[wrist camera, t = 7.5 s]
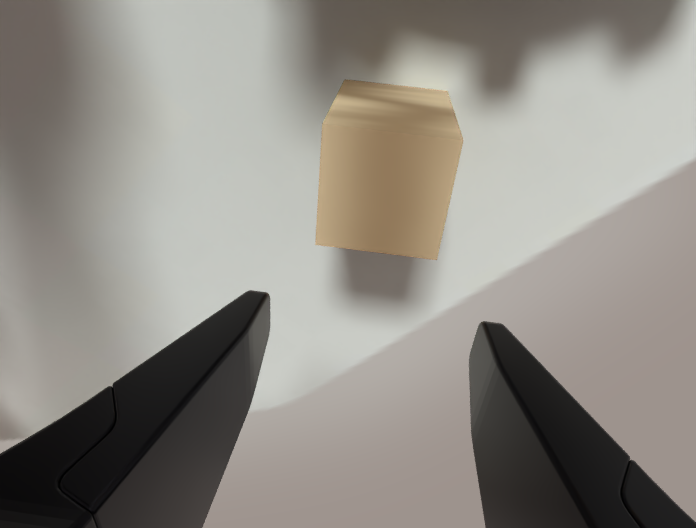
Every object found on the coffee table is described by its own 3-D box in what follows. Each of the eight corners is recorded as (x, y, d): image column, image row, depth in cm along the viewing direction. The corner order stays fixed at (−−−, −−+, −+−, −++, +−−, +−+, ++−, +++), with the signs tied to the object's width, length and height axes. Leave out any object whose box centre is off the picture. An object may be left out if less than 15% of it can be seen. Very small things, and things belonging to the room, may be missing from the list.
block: (337, 175, 21) (315, 244, 16) (344, 79, 19) (322, 123, 14) (429, 186, 21) (436, 260, 16) (447, 90, 18) (463, 140, 13)
